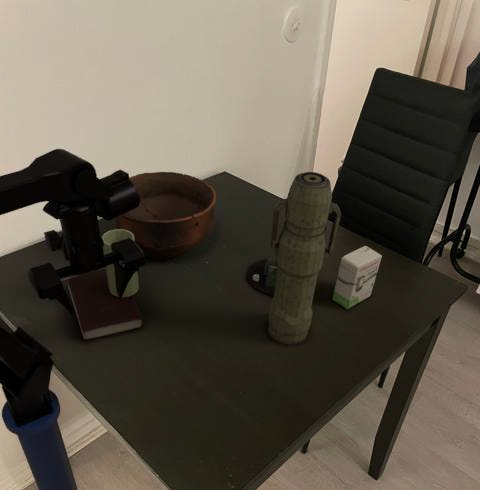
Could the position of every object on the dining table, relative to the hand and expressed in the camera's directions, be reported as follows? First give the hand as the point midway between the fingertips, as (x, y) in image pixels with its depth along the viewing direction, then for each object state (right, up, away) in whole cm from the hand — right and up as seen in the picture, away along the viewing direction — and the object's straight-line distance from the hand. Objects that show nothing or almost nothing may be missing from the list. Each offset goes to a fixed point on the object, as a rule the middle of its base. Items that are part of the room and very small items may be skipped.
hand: (96, 304), depth 91 cm
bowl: (+7, +16, +38) cm, 42 cm away
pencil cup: (+1, +4, +20) cm, 20 cm away
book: (-4, 0, +20) cm, 20 cm away
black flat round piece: (+35, +7, +31) cm, 48 cm away
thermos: (+36, -5, +17) cm, 41 cm away
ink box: (+52, +2, +27) cm, 59 cm away
